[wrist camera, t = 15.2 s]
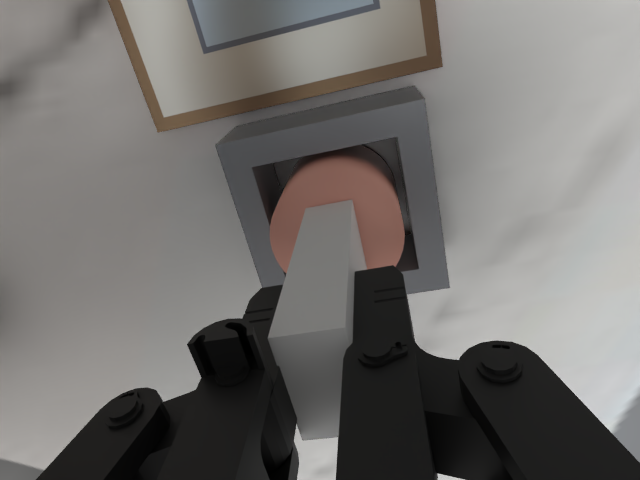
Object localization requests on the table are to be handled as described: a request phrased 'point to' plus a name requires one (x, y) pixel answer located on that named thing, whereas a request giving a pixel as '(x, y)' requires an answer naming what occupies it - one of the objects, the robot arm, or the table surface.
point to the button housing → (331, 134)
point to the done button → (340, 185)
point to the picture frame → (268, 51)
